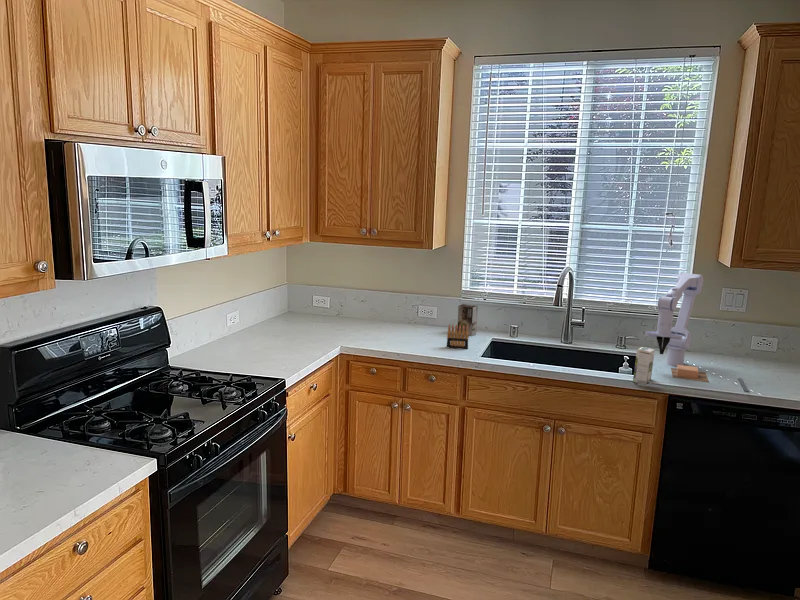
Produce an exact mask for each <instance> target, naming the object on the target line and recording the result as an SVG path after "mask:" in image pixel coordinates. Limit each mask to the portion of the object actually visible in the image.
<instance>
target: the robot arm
mask: <svg viewBox="0 0 800 600" xmlns="http://www.w3.org/2000/svg"><path fill="white" fill-rule="evenodd" d="M703 286H704V276H703V275H702V273H701V274H697V273H690V272H688V273H687V272H680V273H678V274H677V279H676V284H675V286H674V287H670V289H669V290H668V291H667V293H665V295H662V296H660V297H659V298H658V300H657V312H658V317H657V318H658V319H657V327H656V331H648V330H646V331H645V334H644V335H645V337H652V338H656V342H657V344H658V348H659V355H664V353H665V350H666V348H667V356H666V364H667V365H669V366H673V367H677V365H684V363H685V356H686V355H685V354H686V350H688V349H690V346H691V343H692V342H691V341H692V333H691V332H690V331H689V330H688V324H689V321H690V319H691V313H692V311H693V307H694V304H695V300H696V297H697V295H700V294H701V292H702V290H703ZM682 297H683V298H682ZM680 299H682V300H681V304H680V308H679V311H678V316H677V320H676V323H675V326H673V319H674V311H675V310H676V309H677V307H678V302H679V301H680ZM684 366H685V365H684Z"/></svg>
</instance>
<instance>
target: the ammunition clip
mask: <svg viewBox="0 0 800 600" xmlns="http://www.w3.org/2000/svg"><path fill="white" fill-rule="evenodd" d="M446 335H447V336H446V337H447V338H446V347H449V348H448V349H457V348H461V349H462V350H468V349H469V336H468V325H467V327H466V333H465V327H464V325H463V328H462V335H461V325H460V326H459V331H458V324H456V325H454V324H452V325H451V324H448V327H447V334H446Z"/></svg>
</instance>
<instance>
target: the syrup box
mask: <svg viewBox="0 0 800 600" xmlns="http://www.w3.org/2000/svg"><path fill="white" fill-rule="evenodd" d="M655 351H656V350H655V349H653V348H650V347H644V346H641V347H640V348H638V349H636V354H635V363H634V370H633V377H632V382H633V383H636V384H642V385H645V386H646V385H648V384H650V382H649V381H650V380H652V374H653V368H654V367H653V366H654V361H655V360H654V359H655V358H654V357H655Z"/></svg>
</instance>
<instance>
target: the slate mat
mask: <svg viewBox="0 0 800 600" xmlns="http://www.w3.org/2000/svg"><path fill="white" fill-rule="evenodd" d="M737 381H738V382H739V384H740V387H741V389H742V390H743V392H745V393H750V390H749V388H748V387H747V385H746V384H745V381H744V379H743V378H740V377H738V378H737Z"/></svg>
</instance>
